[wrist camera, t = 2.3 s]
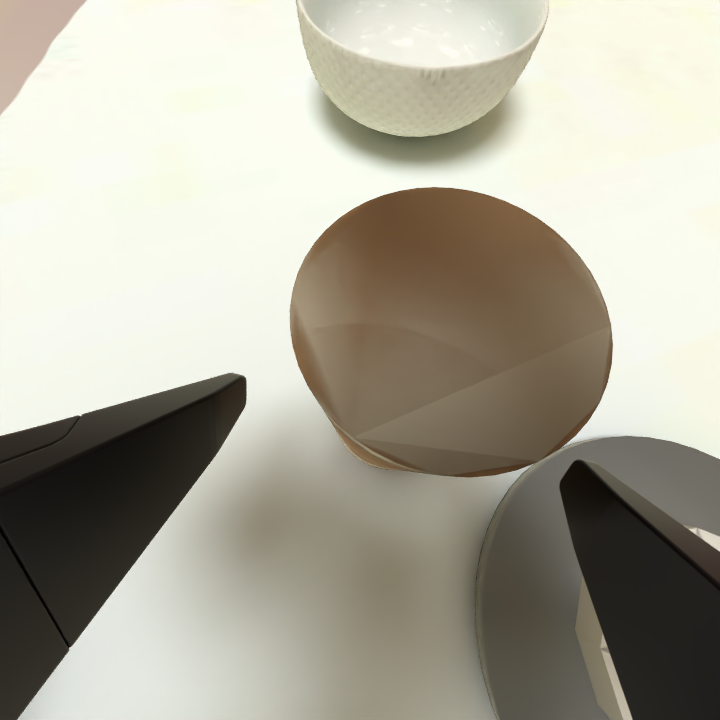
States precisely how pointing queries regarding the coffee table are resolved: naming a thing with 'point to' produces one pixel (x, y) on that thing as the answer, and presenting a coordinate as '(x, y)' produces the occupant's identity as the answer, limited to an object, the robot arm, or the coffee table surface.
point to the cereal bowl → (419, 58)
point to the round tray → (570, 578)
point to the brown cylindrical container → (450, 333)
